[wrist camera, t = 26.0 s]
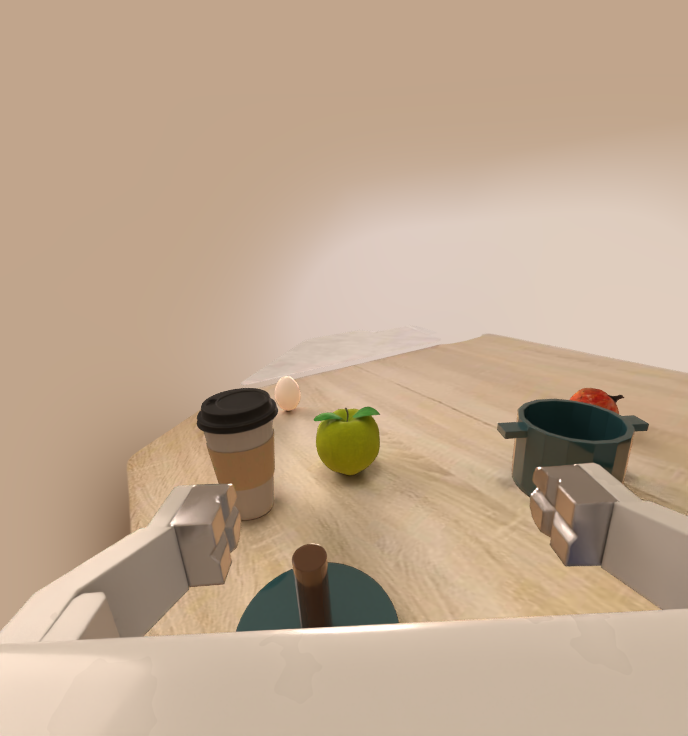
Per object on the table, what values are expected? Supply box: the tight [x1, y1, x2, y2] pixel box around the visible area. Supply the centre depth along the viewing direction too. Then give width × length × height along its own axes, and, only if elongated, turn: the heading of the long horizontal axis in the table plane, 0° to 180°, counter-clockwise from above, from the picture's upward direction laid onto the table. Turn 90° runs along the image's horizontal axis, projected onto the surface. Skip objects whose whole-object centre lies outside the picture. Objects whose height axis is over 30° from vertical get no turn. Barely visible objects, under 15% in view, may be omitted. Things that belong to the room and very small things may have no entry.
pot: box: [497, 399, 649, 497], centre depth 48 cm, size 12×18×10 cm
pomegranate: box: [570, 388, 624, 414], centre depth 62 cm, size 7×7×10 cm
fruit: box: [314, 407, 380, 475], centre depth 53 cm, size 9×9×10 cm
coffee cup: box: [197, 388, 278, 520], centre depth 46 cm, size 9×9×15 cm
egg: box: [275, 376, 301, 411], centre depth 75 cm, size 5×5×7 cm
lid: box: [236, 544, 399, 632], centre depth 29 cm, size 13×13×9 cm
